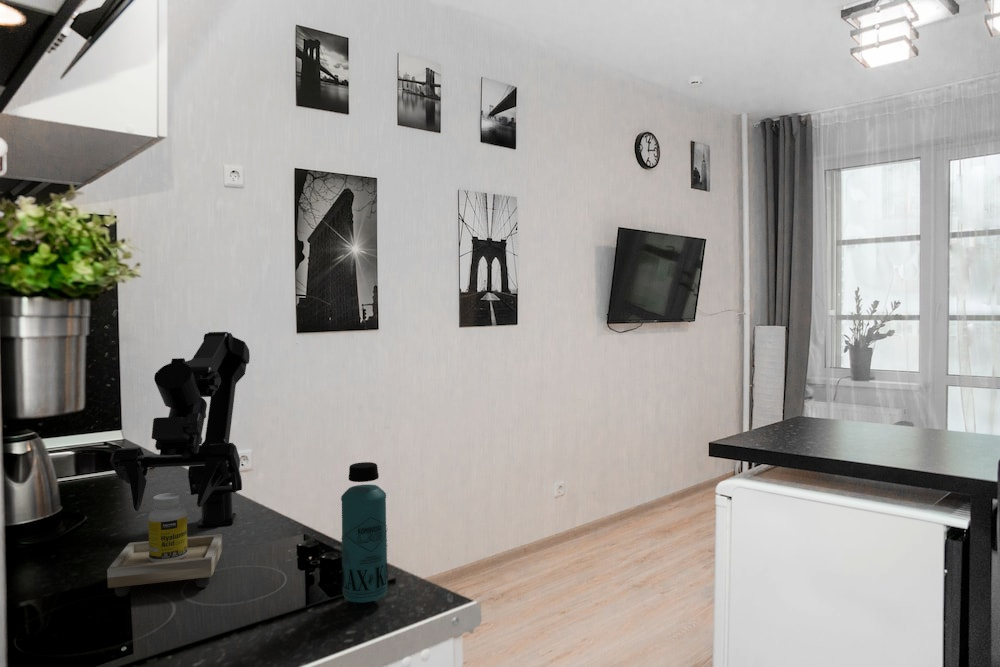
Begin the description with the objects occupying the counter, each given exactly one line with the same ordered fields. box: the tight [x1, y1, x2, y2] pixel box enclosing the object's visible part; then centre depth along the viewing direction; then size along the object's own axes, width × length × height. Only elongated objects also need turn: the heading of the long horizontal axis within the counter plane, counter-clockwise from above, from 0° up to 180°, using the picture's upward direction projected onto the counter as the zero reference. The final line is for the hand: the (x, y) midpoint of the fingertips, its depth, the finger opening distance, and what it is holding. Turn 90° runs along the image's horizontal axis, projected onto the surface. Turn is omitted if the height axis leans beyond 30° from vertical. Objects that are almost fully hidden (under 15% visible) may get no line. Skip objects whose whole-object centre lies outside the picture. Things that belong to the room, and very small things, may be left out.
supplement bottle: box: [147, 492, 188, 562], centre depth 106 cm, size 5×5×10 cm
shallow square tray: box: [106, 533, 223, 598], centre depth 107 cm, size 12×14×5 cm
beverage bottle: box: [340, 461, 389, 603], centre depth 96 cm, size 6×7×20 cm
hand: (167, 507), depth 107 cm, fingers open, 9 cm apart
